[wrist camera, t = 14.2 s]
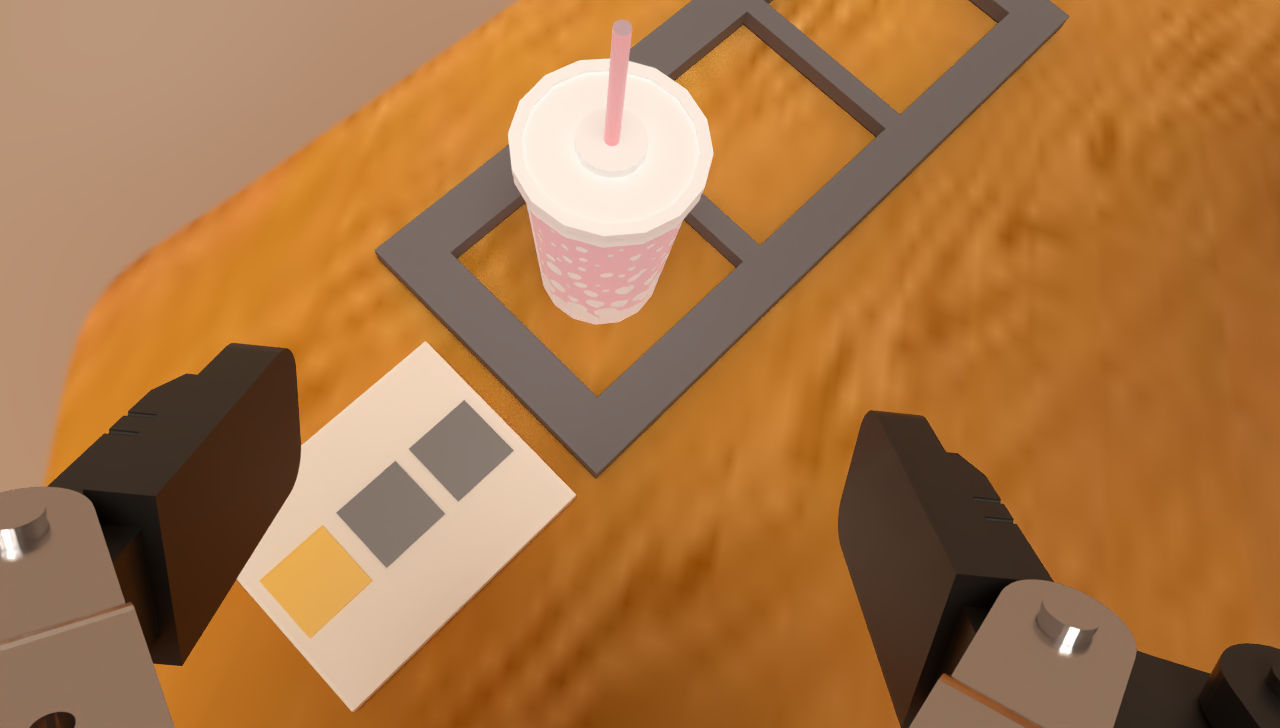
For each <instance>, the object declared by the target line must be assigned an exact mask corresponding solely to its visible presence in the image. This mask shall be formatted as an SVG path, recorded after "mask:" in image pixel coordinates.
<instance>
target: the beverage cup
mask: <svg viewBox="0 0 1280 728" xmlns="http://www.w3.org/2000/svg"><path fill="white" fill-rule="evenodd" d="M631 35H632V25H631V24H630V23H629V22H628V21H626V20H618V21H616V22H615V23H614V24H613V30H612V43H611V55H610V59H594V60H579V61H577V62H575V63H572V64H570V65H568V66H565V67H563V68H561V69H559V70H556V71H554V72H552V73H549V74H547V75H545V76H544V77H543V78H542V79H541V80H540V81H539V82H538V83H537V84H536V85H535V86H534V87H533V88H532V89H531V90H530V91H529V92H528V93H527V94H526V95H525V96H524V97H523V98H522V99H521V100H520V102H519V105H518V107H517V110H516V113H515V116H514V118H513V121H512V124H511V127H510V129H509V132H508V139H509V149H510V158H511V167H512V175H513V177H514V184H515V185H516V187H517V189H518V190H519V192H520V193H521V195H522V197H523V198H524V200H525V202H526V203H527V208H528V213H529V218H530V223H531V228H532V233H533V237H534V242H535V247H536V252H537V257H538V262H539V267H540V272H541V276H542V281H543V286H544V288H545V290H546V291H547V293H548V295H549V296H550V298H551V300H552V301H553V303H554V305H555V306H557V307H558V308H559V309H561V310H562V311H563V312H565V313H566V314H567V315H569V316H570V317H571V318H573V319H577V320H580V321H584V322H588V323H591V324H595V325H596V324H606V323H616V322H620V321H622V320H624V319H625V318H627V317H629V316H631V315H633V314H635V313H637V312H638V311H639V310H640V309H641V308H642V307H643V305H644V304H645V303H646V302H647V301H648V299H649V298H650V297H651V296H652V294H653V291H654V289H655V287H656V284H657V282H658V279H659V277H660V274H661V272H662V270H663V267H664V265H665V262H666V260H667V257H668V255H669V253H670V250H671V248H672V245H673V243H674V240H675V238H676V236H677V233H678V231H679V228H680V226H681V223H682V221H683V219H684V218H685V217H686V216H687V215H688V213H689V212H690V211H691V210H692V209H693V208H694V206H695V205H696V204H697V203H698V202H699V200H700V197H701V194H702V193H703V191H704V188H705V184H706V180H707V176H708V173H709V169H710V165H711V161H712V158H713V154H714V153H713V148H712V143H711V137H710V132H709V127H708V121H707V118H706V117H705V116H704V114H703V113H702V111H701V110H700V108H699V107H698V105H697V104H696V102H695V101H694V99H693V98H692V97H691V95H690V94H689V92H688V91H687V89H685V88H684V87H682V86H681V85H679V84H678V83H676V82H675V81H674V80H672V79H671V78H669V77H668V76H666V75H665V74H663V73H662V72H660V71H659V70H658V69H656V68H653V67H649V66H646V65H642V64H638V63H635V62H631V61H629V53H630V44H631Z"/></svg>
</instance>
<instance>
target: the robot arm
mask: <svg viewBox="0 0 1280 728" xmlns="http://www.w3.org/2000/svg"><path fill="white" fill-rule="evenodd" d="M300 459H301V438H300V422H299V407H298V392H297V376H296V364H295V359H294V356H293V354H292V352H291V351H290V350H289V349H287V348H277V347H267V346H258V345H248V344H238V343H231V344H229V345H228V346H226V347H225V348H224V349H223V350H222V351H221V352H220V353H219V354H218V355H217V356H216V357H215V358H214V359H213V360H212V361H211V362H210V363H209V364H208V365H207V366H206V367H205V368H204V369H203V370H202V371H201V372H200V373H199V374H198V375H194V374H185V375H183V376H180V377H178V378H176V379H174V380H172V381H170V382H168V383H165V384H163V385H161V386H159V387H157V388H155V389H153V390H151V391H150V392H149V393H147V394H146V395H145V396H144V397H143V398H142V399H141V400H140V401H139V402H138V403H137V404H136V405H135V406H133V407H132V408H131V409H130V410H129V411H128V416H123V417H122V418H121V419H119V420H118V421H117V422H116V423H115V424H114V425H113V426H112V427H111V428H110V429H109V434H105V433H104V434H103V435H102V436H101V437H100V438H99V439H98V440H97V441H96V442H95V443H94V444H93V445H91V446H90V447H89V448H88V449H87V450H86V451H85V452H84V453H83V454H82V455H81V456H80V457H79V458H77V459H76V460H75V461H74V462H73V463H72V464H71V465H70V466H69V467H68V468H67V469H66V470H65V471H63V472H62V473H61V474H60V475H59V476H58V477H57V478H56V479H55V480H54V481H53V482H52V483H51V484H49V485H48V486H47V487H30V488H21V489H15V490H10V491H5V492H1V493H0V728H175V727H174V724H173V721H172V718H171V715H170V712H169V709H168V706H167V703H166V701H165V698H164V695H163V692H162V689H161V686H160V683H159V680H158V677H157V674H156V671H155V668H154V665H153V663H154V664H166V665H178V666H182V665H183V664H184V662H185V660H186V659H187V657H188V656H189V654H190V652H191V651H192V649H193V648H194V646H195V645H196V643H197V641H198V640H199V638H200V637H201V635H202V633H203V632H204V630H205V629H206V627H207V625H208V624H209V622H210V621H211V619H212V617H213V616H214V614H215V613H216V611H217V609H218V608H219V606H220V605H221V603H222V601H223V600H224V598H225V597H226V595H227V593H228V592H229V590H230V589H231V587H232V585H233V584H234V582H235V581H236V579H237V578H238V576H239V574H240V573H241V571H242V570H243V568H244V566H245V565H246V563H247V562H248V560H249V558H250V557H251V555H252V554H253V552H254V550H255V549H256V547H257V546H258V544H259V542H260V541H261V539H262V538H263V536H264V534H265V533H266V531H267V530H268V528H269V526H270V525H271V523H272V522H273V520H274V518H275V517H276V515H277V514H278V512H279V510H280V509H281V507H282V506H283V504H284V503H285V501H286V499H287V498H288V496H289V495H290V493H291V491H292V489H293V487H294V485H295V482H296V479H297V475H298V471H299V466H300ZM1000 500H1001V499H1000V497H999V496H998V494H997V493H996V491H995V490H994V488H993V487H992V485H991V483H990V482H989V480H988V479H987V477H986V476H985V475H984V474H983V473H982V472H980V471H979V470H978V469H977V468H975V467H974V466H973V465H972V464H970V463H969V462H968V461H967V460H965V459H964V458H963V457H962V456H960V455H959V454H958V453H948V452H946V451H945V450H944V448H943V446H942V445H941V443H940V441H939V440H938V438H937V436H936V435H935V433H934V431H933V430H932V428H931V426H930V424H929V423H928V421H927V420H926V418H925V417H923V416H920V415H911V414H901V413H892V412H882V411H872V410H871V411H869V412H868V413H867V414H866V415H865V417H864V419H863V421H862V424H861V427H860V430H859V434H858V438H857V442H856V446H855V449H854V453H853V457H852V461H851V464H850V468H849V472H848V476H847V479H846V483H845V487H844V491H843V494H842V498H841V502H840V508H839V517H838V532H839V540H840V545H841V548H842V551H843V554H844V557H845V560H846V563H847V566H848V569H849V572H850V575H851V578H852V581H853V584H854V588H855V591H856V594H857V597H858V600H859V603H860V606H861V609H862V612H863V615H864V618H865V621H866V624H867V627H868V630H869V633H870V636H871V639H872V642H873V645H874V648H875V651H876V654H877V657H878V660H879V663H880V666H881V669H882V672H883V675H884V678H885V681H886V684H887V687H888V690H889V693H890V696H891V699H892V702H893V705H894V708H895V711H896V714H897V717H898V720H899V723H900V726H901V728H1280V649H1277V648H1274V647H1270V646H1265V645H1260V644H1249V643H1246V644H1237V645H1233V646H1230V647H1229V648H1227V649H1226V650H1225V651H1224V652H1223V653H1222V655H1221V656H1220V658H1219V660H1218V662H1217V664H1216V666H1215V667H1214V669H1213V671H1212V673H1211V674H1209V673H1206V672H1203V671H1200V670H1196V669H1193V668H1190V667H1187V666H1183V665H1180V664H1177V663H1174V662H1170V661H1167V660H1164V659H1161V658H1157V657H1154V656H1151V655H1148V654H1145V653H1142V652H1140V651H1137V648H1136V642H1135V640H1134V638H1133V635H1132V633H1131V632H1130V630H1129V629H1128V627H1127V626H1126V625H1125V624H1124V623H1123V621H1122V620H1121V619H1120V618H1119V617H1118V616H1117V615H1116V614H1114V613H1113V612H1112V611H1111V610H1110V609H1108V608H1107V607H1106V606H1104V605H1103V604H1102V603H1100V602H1099V601H1097V600H1095V599H1094V598H1092V597H1090V596H1088V595H1086V594H1084V593H1082V592H1080V591H1078V590H1076V589H1073V588H1071V587H1068V586H1065V585H1062V584H1059V583H1055V582H1054V581H1053V580H1052V578H1051V577H1050V575H1049V574H1048V572H1047V570H1046V569H1045V567H1044V566H1043V564H1042V563H1041V561H1040V560H1039V558H1038V556H1037V555H1036V553H1035V552H1034V550H1033V549H1032V547H1031V546H1030V544H1029V543H1028V541H1027V539H1026V538H1025V536H1024V535H1023V533H1022V532H1021V530H1020V529H1019V527H1018V525H1017V524H1013V518H1012V516H1011V515H1010V513H1009V511H1008V510H1007V508H1006V507H1005V505H1004V504H1000Z"/></svg>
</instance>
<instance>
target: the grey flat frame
mask: <svg viewBox="0 0 1280 728" xmlns="http://www.w3.org/2000/svg"><path fill="white" fill-rule="evenodd" d="M771 1H772V0H692V1H691V2H690V3H688V4H687V5H686V6H684V7H683V8H682V9H681V10H679V11H678V12H677V13H676V14H674V15H673V16H672V17H670V18H669V19H668V20H667V21H665V22H664V23H663V24H662V25H660V26H659V27H658V28H656V29H655V30H654V31H653V32H651V33H650V34H649V35H648V36H646V37H645V38H644V39H642V40H641V41H640V42H639V43H637V44H636V45H635V46H634V47H632V48H631V49H630V53H629V61H631V62H635V63H638V64H642V65H646V66H649V67H653V68H656V69H658V70H659V71H660V72H662V73H663V74H665V75H666V76H668V77H669V78H671V79H672V80H676V79H677V78H678V77H679V76H680V75H682V74H683V73H684V72H685V71H687V70H688V69H689V68H690V67H691V66H693V65H694V64H695V63H696V62H698V61H699V60H700V59H701V58H702V57H704V56H705V55H706V54H707V53H709V52H710V51H711V50H712V49H713V48H715V47H716V46H717V45H718V44H720V43H721V42H722V41H723V40H724V39H726V38H727V37H728V36H729V35H731V34H732V33H733V32H734V31H735V30H737V29H738V28H739V27H740V26H742V25H743V24H744V25H745V26H747V27H748V28H749V29H750V30H751V31H752V32H754V33H755V34H756V35H757V36H758V37H759V38H761V39H762V40H763V41H764V42H765V43H767V44H768V45H769V46H770V47H771V48H772V49H774V50H775V51H776V52H777V53H778V54H779V55H781V56H782V57H783V58H784V59H785V60H787V61H788V62H789V63H790V64H791V65H792V66H794V67H795V68H796V69H797V70H798V71H799V72H801V73H802V74H803V75H804V76H805V77H807V78H808V79H809V80H810V81H811V82H812V83H814V84H815V85H816V86H817V87H818V88H819V89H821V90H822V91H823V92H824V93H825V94H827V95H828V96H829V97H830V98H831V99H832V100H834V101H835V102H836V103H837V104H838V105H840V106H841V107H842V108H843V109H844V110H845V111H847V112H848V113H849V114H850V115H851V116H852V117H854V118H855V119H856V120H857V121H858V122H860V123H861V124H862V125H863V126H864V127H865V128H867V129H868V130H869V131H870V132H871V133H872V134H874V135H875V136H876V138H875V139H874V140H873V141H872V142H871V143H870V144H869V145H868V146H866V147H865V148H864V149H863V150H862V151H861V152H860V153H859V154H858V155H857V156H856V157H855V158H854V159H853V160H851V161H850V162H849V163H848V164H847V165H846V166H845V167H844V168H843V169H842V170H841V171H840V172H839V173H838V174H836V175H835V176H834V177H833V178H832V179H831V180H830V181H829V182H828V183H827V184H826V185H825V186H824V187H823V188H821V189H820V190H819V191H818V192H817V193H816V194H815V195H814V196H813V197H812V198H811V199H810V200H809V201H808V202H806V203H805V204H804V205H803V206H802V207H801V208H800V209H799V210H798V211H797V212H796V213H795V214H794V215H793V216H791V217H790V218H789V219H788V220H787V221H786V222H785V223H784V224H783V225H782V226H781V227H780V228H779V229H778V230H776V231H775V232H774V233H773V234H772V235H771V236H770V237H769V238H768V239H767V240H766V241H765V242H764V243H763V244H762V245H759V244H758V243H757V242H756V241H754V240H753V239H752V238H751V237H750V236H749V235H748V234H747V233H746V232H744V231H743V230H742V229H741V228H740V227H739V226H738V225H737V224H736V223H734V222H733V221H732V220H731V219H730V218H729V217H728V216H727V215H726V214H725V213H723V212H722V211H721V210H720V209H719V208H718V207H717V206H716V205H715V204H713V203H712V202H711V201H710V200H709V199H708V198H707V197H706V196H705V195H704V194H701V197H700V200H699V202H698V203H697V204H696V205H695V206H694V208H693V209H692V210H691V211H690V212H689V213H688V215H687V216H686V217H685V218H684V220H685V221H686V222H687V223H689V224H690V225H691V226H692V227H693V228H694V229H695V230H696V231H697V232H698V233H699V234H701V235H702V236H703V237H704V238H705V239H706V240H707V241H708V242H709V243H710V244H711V245H713V246H714V247H715V248H716V249H717V250H718V251H719V252H720V253H721V254H722V255H723V256H725V257H726V258H727V259H728V260H729V261H730V262H731V263H732V264H733V265H734V266H735V267H737V268H736V269H735V270H734V271H733V272H732V273H730V274H729V275H728V276H727V277H726V278H725V279H724V280H723V281H722V282H721V283H720V284H719V285H718V286H717V287H715V288H714V289H713V290H712V291H711V292H710V293H709V294H708V295H707V296H706V297H705V298H704V299H703V300H702V301H700V302H699V303H698V304H697V305H696V306H695V307H694V308H693V309H692V310H691V311H690V312H689V313H688V314H687V315H685V316H684V317H683V318H682V319H681V320H680V321H679V322H678V323H677V324H676V325H675V326H674V327H673V328H672V329H670V330H669V331H668V332H667V333H666V334H665V335H664V336H663V337H662V338H661V339H660V340H659V341H658V342H657V343H655V344H654V345H653V346H652V347H651V348H650V349H649V350H648V351H647V352H646V353H645V354H644V355H643V356H642V357H640V358H639V359H638V360H637V361H636V362H635V363H634V364H633V365H632V366H631V367H630V368H629V369H628V370H627V371H625V372H624V373H623V374H622V375H621V376H620V377H619V378H618V379H617V380H616V381H615V382H614V383H613V384H612V385H610V386H609V387H608V388H607V389H606V390H605V391H604V392H603V393H602V394H601V395H600V396H599V397H598V398H597V397H596V396H595V395H594V394H593V393H592V392H591V391H590V390H589V389H588V388H587V387H586V386H585V385H584V384H583V383H582V382H581V381H580V380H579V379H578V378H577V377H576V376H575V375H574V374H573V373H572V372H571V371H570V370H569V369H568V368H567V367H566V366H565V365H564V364H563V363H562V362H561V361H560V360H559V359H558V358H557V357H556V356H555V355H554V354H553V353H552V352H551V351H550V350H549V349H548V348H547V347H546V346H545V345H544V344H543V343H542V342H541V341H540V340H539V339H538V338H537V337H536V336H535V335H533V334H532V333H531V332H530V331H529V330H528V329H527V328H526V327H525V326H524V325H523V324H522V323H521V322H520V321H519V320H518V319H517V318H516V317H515V316H514V315H513V314H512V313H511V312H510V311H509V310H508V309H507V308H506V307H505V306H504V305H503V304H502V303H501V302H500V301H499V300H498V299H497V298H496V297H495V296H494V295H493V294H492V293H491V292H490V291H489V290H488V289H487V288H486V287H485V286H484V285H483V284H482V283H481V282H480V281H479V280H478V279H477V278H476V277H475V276H474V275H473V274H472V273H471V272H470V271H469V270H468V269H467V268H466V267H465V266H464V265H463V264H462V263H461V262H460V261H458V260H457V258H458V257H459V256H460V255H461V254H463V253H464V252H465V251H466V250H468V249H469V248H470V247H471V246H472V245H474V244H475V243H476V242H477V241H479V240H480V239H481V238H482V237H483V236H485V235H486V234H487V233H488V232H490V231H491V230H492V229H493V228H494V227H496V226H497V225H498V224H499V223H501V222H502V221H503V220H504V219H505V218H507V217H508V216H509V215H510V214H512V213H513V212H514V211H515V210H516V209H518V208H519V207H520V206H521V205H523V204H524V203H525V200H524V198H523V197H522V195H521V193H520V192H519V190H518V189H517V187H516V185H515V184H514V177H513V175H512V167H511V158H510V149H509V145H508V146H506V147H505V148H504V149H503V150H501V151H500V152H499V153H497V154H496V155H495V156H494V157H492V158H491V159H490V160H489V161H487V162H486V163H485V164H483V165H482V166H481V167H480V168H478V169H477V170H476V171H475V172H473V173H472V174H471V175H469V176H468V177H467V178H466V179H464V180H463V181H462V182H461V183H459V184H458V185H457V186H455V187H454V188H453V189H452V190H450V191H449V192H448V193H447V194H445V195H444V196H443V197H441V198H440V199H439V200H438V201H436V202H435V203H434V204H433V205H431V206H430V207H429V208H427V209H426V210H425V211H424V212H422V213H421V214H420V215H419V216H417V217H416V218H415V219H413V220H412V221H411V222H410V223H408V224H407V225H406V226H405V227H403V228H402V229H401V230H399V231H398V232H397V233H396V234H394V235H393V236H392V237H391V238H389V239H388V240H387V241H385V242H384V243H383V244H382V245H380V246H379V247H378V248H377V249H375V252H376V254H377V257H378V259H379V260H380V261H381V262H382V263H383V264H384V265H385V266H386V267H387V268H388V269H389V270H390V271H391V272H392V273H393V274H394V275H395V276H396V277H397V278H398V279H399V280H400V281H401V282H402V283H403V284H404V285H405V286H406V287H407V288H408V289H409V290H410V291H411V292H412V293H413V294H414V295H415V296H416V297H417V298H418V299H419V300H420V301H421V302H422V303H423V304H424V305H425V306H426V307H427V308H428V309H429V310H430V311H431V312H432V313H433V314H434V315H435V317H436V318H437V319H438V320H439V321H440V322H441V323H442V324H443V325H444V326H445V327H446V328H447V329H448V330H449V331H450V332H451V333H452V334H453V335H454V336H455V337H456V338H457V339H458V340H459V341H460V342H461V343H462V344H463V345H464V346H465V347H466V348H467V349H468V350H469V351H470V352H471V353H472V354H473V355H474V356H475V357H476V358H477V359H478V360H479V361H480V362H481V363H482V364H483V365H484V366H485V367H486V368H487V369H488V370H489V371H490V372H491V373H492V374H493V375H494V376H495V377H496V378H497V379H498V380H499V381H500V382H501V383H502V384H503V385H504V386H505V387H506V388H507V389H508V390H509V391H510V392H511V393H512V394H513V395H514V396H515V397H516V398H517V399H518V400H519V401H520V402H521V403H522V404H523V405H524V406H525V407H526V408H527V409H528V410H529V411H530V412H531V413H532V414H533V415H534V416H535V417H536V418H537V419H538V420H539V421H540V422H541V424H542V425H543V426H544V427H545V428H546V429H547V430H548V431H549V432H550V433H551V434H552V435H553V436H554V437H555V438H556V439H557V440H558V441H559V442H560V443H561V444H562V445H563V446H564V447H565V448H566V449H567V450H568V451H569V452H570V453H571V454H572V455H573V456H574V457H575V458H576V459H577V460H578V461H579V462H580V463H581V464H582V465H583V466H584V467H585V468H586V469H587V470H588V471H589V472H590V473H591V474H592V475H593V476H594V477H595V478H597V477H598V476H599V475H600V474H601V473H602V472H603V471H604V470H605V469H606V468H607V467H608V466H609V465H610V464H611V463H612V462H613V461H614V460H615V459H617V458H618V457H619V456H620V455H621V454H622V453H623V452H624V451H625V450H626V449H627V448H628V447H629V446H630V445H631V444H632V443H633V442H634V441H635V440H636V439H637V438H638V437H639V436H640V435H641V434H642V433H643V432H644V431H645V430H646V429H647V428H648V427H650V426H651V425H652V424H653V423H654V422H655V421H656V420H657V419H658V418H659V417H660V416H661V415H662V414H663V413H664V412H665V411H666V410H667V409H668V408H669V407H670V406H671V405H672V404H673V403H674V402H675V401H676V400H677V399H678V398H679V397H680V396H681V395H682V394H684V393H685V392H686V391H687V390H688V389H689V388H690V387H691V386H692V385H693V384H694V383H695V382H696V381H697V380H698V379H699V378H700V377H701V376H702V375H703V374H704V373H705V372H706V371H707V370H708V369H709V368H710V367H711V366H712V365H713V364H714V363H715V362H717V361H718V360H719V359H720V358H721V357H722V356H723V355H724V354H725V353H726V352H727V351H728V350H729V349H730V348H731V347H732V346H733V345H734V344H735V343H736V342H737V341H738V340H739V339H740V338H741V337H742V336H743V335H744V334H745V333H746V332H747V331H748V330H750V329H751V328H752V327H753V326H754V325H755V324H756V323H757V322H758V321H759V320H760V319H761V318H762V317H763V316H764V315H765V314H766V313H767V312H768V311H769V310H770V309H771V308H772V307H773V306H774V305H775V304H776V303H777V302H778V301H779V300H780V299H781V298H782V297H784V296H785V295H786V294H787V293H788V292H789V291H790V290H791V289H792V288H793V287H794V286H795V285H796V284H797V283H798V282H799V281H800V280H801V279H802V278H803V277H804V276H805V275H806V274H807V273H808V272H809V271H810V270H811V269H812V268H813V267H814V266H815V265H817V264H818V263H819V262H820V261H821V260H822V259H823V258H824V257H825V256H826V255H827V254H828V253H829V252H830V251H831V250H832V249H833V248H834V247H835V246H836V245H837V244H838V243H839V242H840V241H841V240H842V239H843V238H844V237H845V236H846V235H847V234H848V233H850V232H851V231H852V230H853V229H854V228H855V227H856V226H857V225H858V224H859V223H860V222H861V221H862V220H863V219H864V218H865V217H866V216H867V215H868V214H869V213H870V212H871V211H872V210H873V209H874V208H875V207H876V206H877V205H878V204H879V203H880V202H881V201H882V200H884V199H885V198H886V197H887V196H888V195H889V194H890V193H891V192H892V191H893V190H894V189H895V188H896V187H897V186H898V185H899V184H900V183H901V182H902V181H903V180H904V179H905V178H906V177H907V176H908V175H909V174H910V173H911V172H912V171H913V170H914V169H915V168H917V167H918V166H919V165H920V164H921V163H922V162H923V161H924V160H925V159H926V158H927V157H928V156H929V155H930V154H931V153H932V152H933V151H934V150H935V149H936V148H937V147H938V146H939V145H940V144H941V143H942V142H943V141H944V140H945V139H946V138H947V137H948V136H950V135H951V134H952V133H953V132H954V131H955V130H956V129H957V128H958V127H959V126H960V125H961V124H962V123H963V122H964V121H965V120H966V119H967V118H968V117H969V116H970V115H971V114H972V113H973V112H974V111H975V110H976V109H977V108H978V107H979V106H980V105H981V104H982V103H984V102H985V101H986V100H987V99H988V98H989V97H990V96H991V95H992V94H993V93H994V92H995V91H996V90H997V89H998V88H999V87H1000V86H1001V85H1002V84H1003V83H1004V82H1005V81H1006V80H1007V79H1008V78H1009V77H1010V76H1011V75H1012V74H1013V73H1014V72H1015V71H1017V70H1018V69H1019V68H1020V67H1021V66H1022V65H1023V64H1024V63H1025V62H1026V61H1027V60H1028V59H1029V58H1030V57H1031V56H1032V55H1033V54H1034V53H1035V52H1036V51H1037V50H1038V49H1039V48H1040V47H1041V46H1042V45H1043V44H1044V43H1045V42H1046V41H1047V40H1048V39H1050V38H1051V37H1052V36H1053V35H1054V34H1055V33H1056V32H1057V31H1058V30H1059V29H1060V28H1061V26H1062V25H1063V24H1064V23H1065V21H1066V20H1067V19H1068V18H1069V15H1067V14H1066V13H1065V12H1064V11H1062V10H1061V9H1060V8H1058V7H1057V6H1056V5H1055V4H1053V3H1052V2H1051V1H1049V0H970V1H971V2H973V3H974V4H975V5H976V6H978V7H979V8H980V9H981V10H983V11H984V12H985V13H987V14H988V15H989V16H990V17H992V18H993V19H994V20H995V21H997V22H998V24H997V25H996V26H995V27H994V28H993V29H992V30H991V31H990V32H989V33H987V34H986V35H985V36H984V37H983V38H982V39H981V40H980V41H979V42H978V43H977V44H976V45H975V46H974V47H972V48H971V49H970V50H969V51H968V52H967V53H966V54H965V55H964V56H963V57H962V58H961V59H960V60H959V61H957V62H956V63H955V64H954V65H953V66H952V67H951V68H950V69H949V70H948V71H947V72H946V73H945V74H944V75H943V76H941V77H940V78H939V79H938V80H937V81H936V82H935V83H934V84H933V85H932V86H931V87H930V88H929V89H928V90H926V91H925V92H924V93H923V94H922V95H921V96H920V97H919V98H918V99H917V100H916V101H915V102H914V103H913V104H911V105H910V106H909V107H908V108H907V109H906V110H905V111H904V112H903V113H902V114H901V115H900V114H899V113H898V112H896V111H895V110H894V109H893V108H892V107H890V106H889V105H888V104H887V103H886V102H884V101H883V100H882V99H881V98H880V97H878V96H877V95H876V94H875V93H874V92H872V91H871V90H870V89H869V88H868V87H867V86H865V85H864V84H863V83H862V82H861V81H859V80H858V79H857V78H856V77H855V76H853V75H852V74H851V73H850V72H849V71H847V70H846V69H845V68H844V67H843V66H841V65H840V64H839V63H838V62H837V61H836V60H834V59H833V58H832V57H831V56H830V55H828V54H827V53H826V52H825V51H824V50H822V49H821V48H820V47H819V46H818V45H816V44H815V43H814V42H813V41H812V40H810V39H809V38H808V37H807V36H806V35H805V34H803V33H802V32H801V31H800V30H799V29H797V28H796V27H795V26H794V25H793V24H791V23H790V22H789V21H788V20H787V19H785V18H784V17H783V16H782V15H781V14H779V13H778V12H777V11H776V10H775V9H774V8H772V7H771V6H770V5H769V4H768V3H770V2H771Z"/></svg>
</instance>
